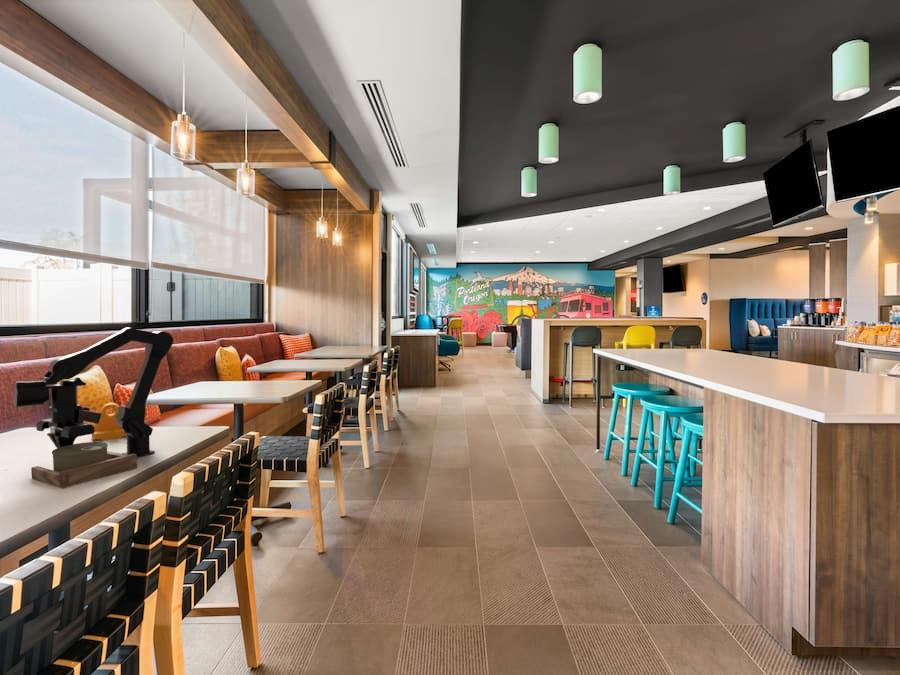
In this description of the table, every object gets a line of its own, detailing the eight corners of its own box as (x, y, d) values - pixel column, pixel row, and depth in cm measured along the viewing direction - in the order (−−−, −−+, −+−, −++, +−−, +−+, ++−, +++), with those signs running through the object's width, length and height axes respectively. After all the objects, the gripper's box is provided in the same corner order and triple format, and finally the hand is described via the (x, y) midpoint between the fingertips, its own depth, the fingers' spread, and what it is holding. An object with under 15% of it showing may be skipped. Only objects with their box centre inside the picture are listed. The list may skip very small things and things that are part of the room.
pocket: (137, 468, 132) (136, 454, 132) (62, 488, 116) (61, 472, 116) (106, 460, 138) (105, 447, 138) (31, 478, 123) (31, 463, 122)
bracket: (91, 442, 159) (91, 407, 159) (92, 437, 165) (91, 404, 165) (129, 437, 165) (129, 404, 165) (129, 433, 171) (128, 401, 171)
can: (78, 465, 134) (77, 441, 134) (118, 465, 134) (118, 442, 133) (40, 479, 122) (39, 453, 122) (84, 480, 122) (84, 454, 121)
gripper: (114, 401, 134) (115, 454, 134) (80, 395, 142) (81, 446, 143) (68, 407, 124) (70, 465, 125) (34, 401, 132) (36, 455, 133)
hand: (65, 457), depth 131 cm, fingers closed
